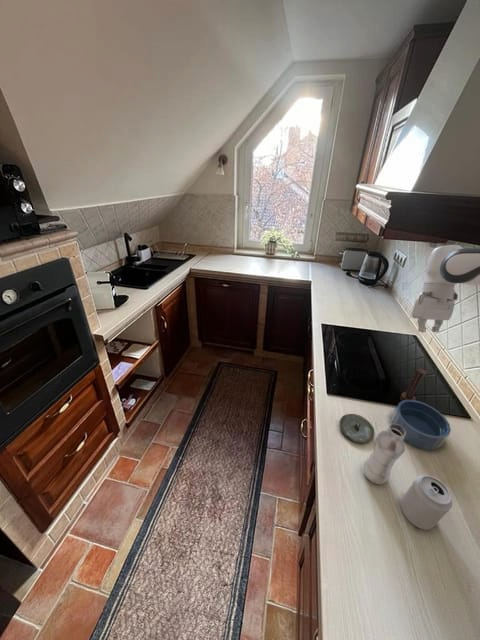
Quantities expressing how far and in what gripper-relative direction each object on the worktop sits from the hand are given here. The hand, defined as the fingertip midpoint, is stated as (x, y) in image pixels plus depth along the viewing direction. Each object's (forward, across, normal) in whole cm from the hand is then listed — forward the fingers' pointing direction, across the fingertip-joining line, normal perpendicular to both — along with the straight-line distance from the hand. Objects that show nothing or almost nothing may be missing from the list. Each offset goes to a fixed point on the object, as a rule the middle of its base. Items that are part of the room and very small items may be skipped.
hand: (428, 331), depth 90 cm
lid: (+34, -28, +3) cm, 44 cm away
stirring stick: (+27, -1, +2) cm, 27 cm away
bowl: (+32, -10, -6) cm, 34 cm away
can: (+43, -32, -19) cm, 57 cm away
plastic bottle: (+40, -34, -9) cm, 53 cm away
